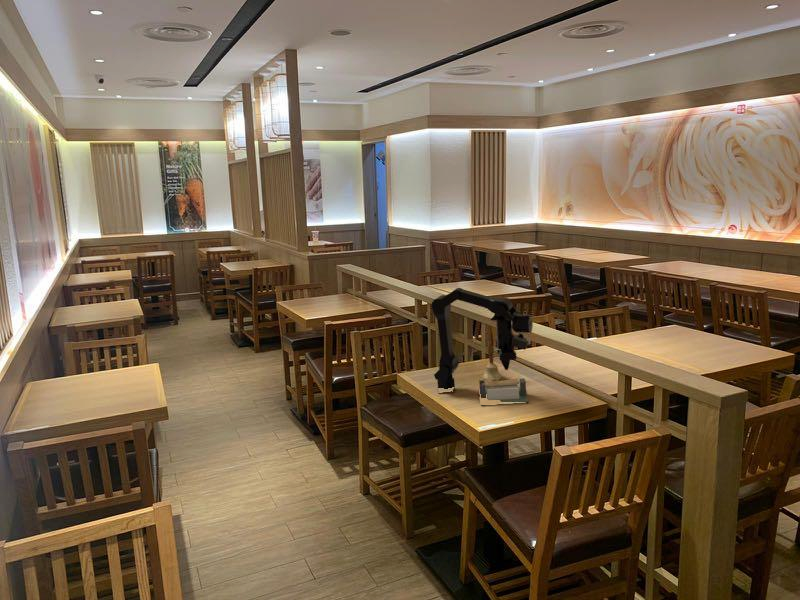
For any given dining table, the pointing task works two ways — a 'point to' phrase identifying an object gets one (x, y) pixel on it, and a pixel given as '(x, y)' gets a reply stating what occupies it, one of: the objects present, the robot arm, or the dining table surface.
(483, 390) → the heatsink board
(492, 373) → the hand bell
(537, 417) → the dining table surface
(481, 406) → the dining table surface
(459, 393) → the dining table surface
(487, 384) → the wooden plank
